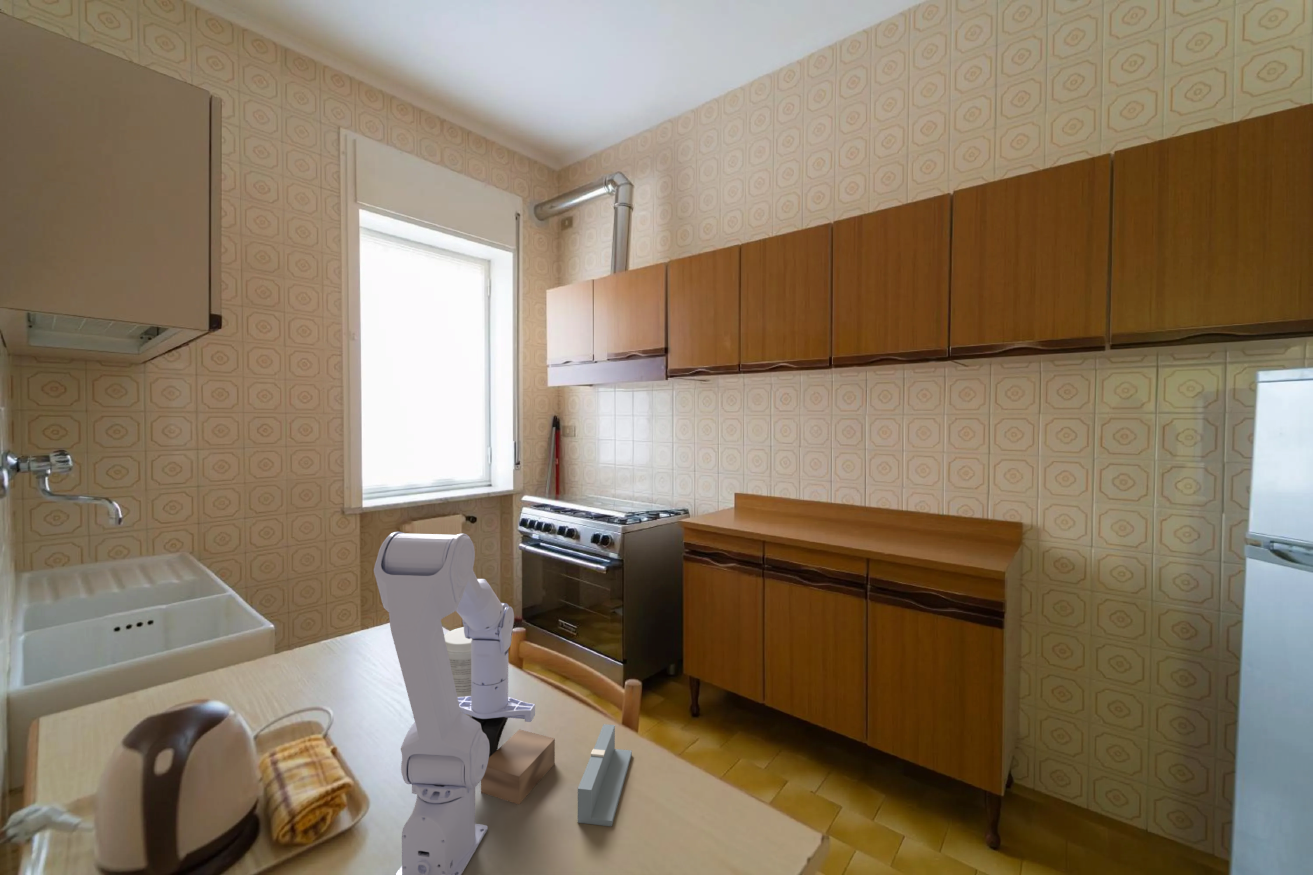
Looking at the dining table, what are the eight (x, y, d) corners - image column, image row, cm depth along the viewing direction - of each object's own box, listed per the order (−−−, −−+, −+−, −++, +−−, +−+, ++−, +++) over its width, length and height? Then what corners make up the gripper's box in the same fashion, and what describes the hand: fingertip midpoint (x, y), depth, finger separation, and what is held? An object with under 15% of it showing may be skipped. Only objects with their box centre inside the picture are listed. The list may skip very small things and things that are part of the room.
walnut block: (519, 805, 79) (519, 776, 79) (480, 793, 81) (480, 765, 81) (554, 764, 88) (554, 738, 88) (519, 754, 91) (519, 729, 91)
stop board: (611, 826, 75) (611, 789, 75) (577, 822, 76) (577, 786, 75) (631, 754, 91) (632, 724, 90) (603, 752, 91) (603, 722, 91)
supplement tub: (499, 711, 104) (499, 637, 103) (448, 726, 99) (448, 648, 98) (485, 689, 112) (485, 621, 111) (437, 702, 107) (437, 630, 106)
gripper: (541, 668, 88) (541, 747, 89) (459, 662, 90) (460, 739, 90) (526, 689, 81) (525, 775, 82) (437, 682, 83) (438, 766, 83)
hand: (490, 758), depth 86 cm, fingers closed
